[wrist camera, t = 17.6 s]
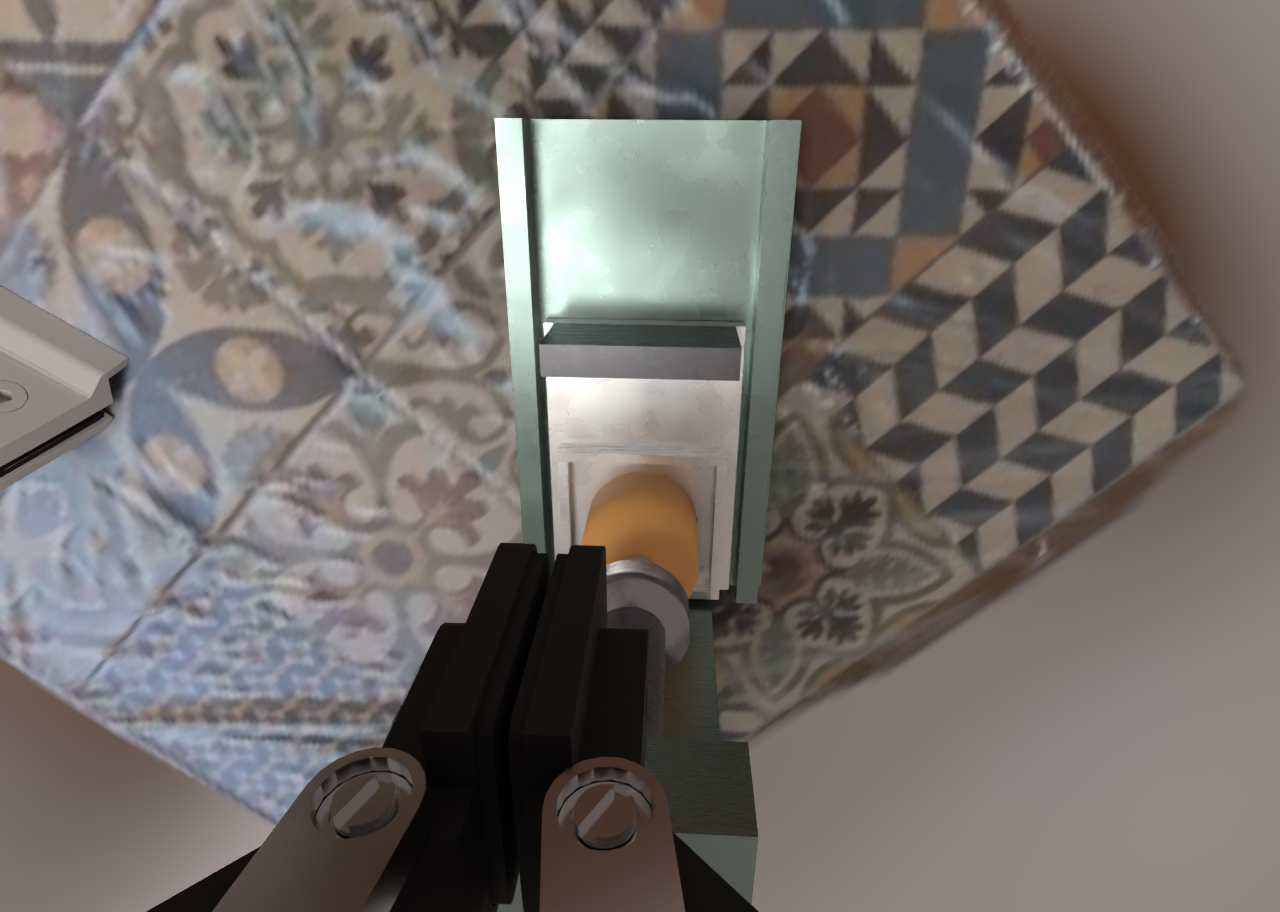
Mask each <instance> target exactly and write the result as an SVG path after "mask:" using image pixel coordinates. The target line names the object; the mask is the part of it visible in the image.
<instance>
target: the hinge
mask: <svg viewBox="0 0 1280 912" xmlns="http://www.w3.org/2000/svg"><path fill="white" fill-rule="evenodd" d="M127 365H128V357H126V356H124V355H123V354H121V353H119V352H117V351H115V350H114V349H112V348H110V347H108V346H107V345H105V344H103V343H101V342H99V341H98V340H96V339H94V338H92V337H90V336H89V335H87V334H85V333H83V332H82V331H80V330H78V329H76V328H74V327H73V326H71V325H69V324H67V323H66V322H64V321H62V320H60V319H58V318H57V317H55V316H53V315H51V314H49V313H48V312H46V311H44V310H42V309H41V308H39V307H37V306H35V305H33V304H32V303H30V302H28V301H26V300H24V299H23V298H21V297H19V296H17V295H16V294H14V293H12V292H10V291H8V290H7V289H5V288H3V287H1V286H0V491H2V490H3V489H5V488H7V487H8V486H10V485H12V484H14V483H15V482H17V481H19V480H20V479H22V478H24V477H25V476H27V475H29V474H30V473H32V472H34V471H35V470H37V469H39V468H40V467H42V466H44V465H45V464H47V463H49V462H50V461H52V460H54V459H55V458H57V457H59V456H60V455H62V454H64V453H65V452H67V451H69V450H70V449H72V448H74V447H76V446H77V445H79V444H81V443H82V442H84V441H86V440H87V439H89V438H91V437H92V436H94V435H96V434H97V433H99V432H101V431H102V430H104V429H106V428H107V427H108V425H109V424H110V422H111V420H112V418H113V417H112V416H110V415H109V414H107V413H105V412H103V411H102V410H101V409H103V408H105V407H107V406H108V405H110V404H112V403H113V398H112V394H111V389H110V385H109V378H111V377H112V376H113V375H115V374H116V373H118V372H119V371H120V370H122V369H123V368H125V367H126V366H127Z"/></svg>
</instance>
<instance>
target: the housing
mask: <svg viewBox="0 0 1280 912" xmlns="http://www.w3.org/2000/svg"><path fill="white" fill-rule="evenodd" d="M581 545H590V546H605V548H606V565H607V564H610V563H613V562H617V561H622V560H641V561H646V562H650V563H653V564H656V565H658V566H660V567H662V568H664V569H666V570H667V571H669V572H670V573H671V574H672V575H674V576H675V577H676V578H677V579H678V580H679V582H680V583H681V585H682V586H683V588H684V590H685V591H686V594H687V597H688V598H689V597H690V595H691V594H692V592H693V590H694V588H695V585H696V583H697V578H698V545H697V520H696V512H695V508H694V505H693V503H692V501H691V499H690V497H689V496H688V494H687V493H686V492H685V491H684V489H683V488H682V487H680V486H679V485H678V484H677V483H675V482H674V481H673V480H671V479H669V478H667V477H664V476H662V475H659V474H655V473H650V472H632V473H627V474H623V475H621V476H618V477H616V478H614V479H612V480H610V481H609V482H607V483H606V484H605V485H604V486H603V487H602V488H600V490H599V491H598V492H597V493H596V495H595V497H594V498H593V500H592V503H591V506H590V510H589V514H588V518H587V522H586V526H585V530H584V534H583V538H582V542H581Z"/></svg>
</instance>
